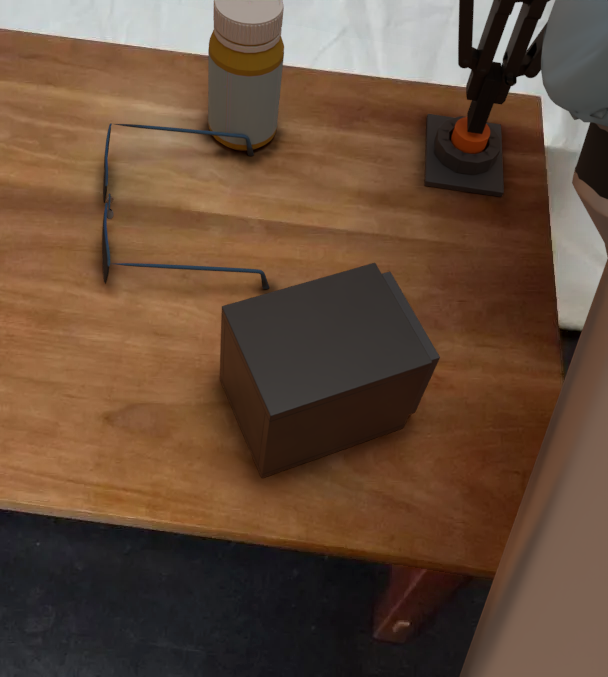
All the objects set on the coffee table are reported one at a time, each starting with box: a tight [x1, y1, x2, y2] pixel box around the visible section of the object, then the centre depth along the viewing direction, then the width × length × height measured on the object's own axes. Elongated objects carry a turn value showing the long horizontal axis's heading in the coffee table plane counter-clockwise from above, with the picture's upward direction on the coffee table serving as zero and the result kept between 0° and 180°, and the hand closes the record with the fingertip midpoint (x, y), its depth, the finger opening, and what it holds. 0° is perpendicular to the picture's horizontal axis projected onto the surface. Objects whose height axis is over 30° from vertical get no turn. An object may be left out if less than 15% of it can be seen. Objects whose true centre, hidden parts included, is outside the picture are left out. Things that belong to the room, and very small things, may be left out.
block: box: [423, 113, 505, 198], centre depth 85 cm, size 10×8×2 cm
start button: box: [451, 116, 490, 154], centre depth 84 cm, size 4×4×2 cm
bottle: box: [207, 0, 285, 152], centre depth 79 cm, size 7×7×15 cm
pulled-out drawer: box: [382, 271, 441, 416], centre depth 65 cm, size 13×8×9 cm, turn 113°
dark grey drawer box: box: [219, 262, 432, 479], centre depth 64 cm, size 13×10×11 cm
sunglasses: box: [101, 123, 270, 290], centre depth 76 cm, size 17×15×5 cm
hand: (474, 123), depth 82 cm, fingers closed
